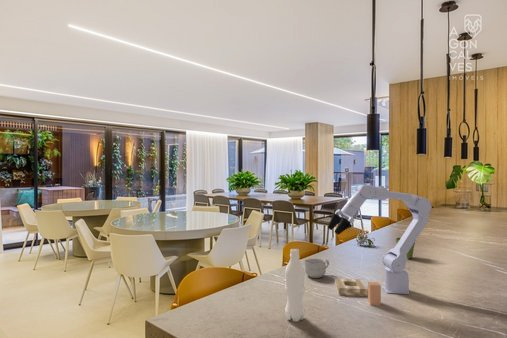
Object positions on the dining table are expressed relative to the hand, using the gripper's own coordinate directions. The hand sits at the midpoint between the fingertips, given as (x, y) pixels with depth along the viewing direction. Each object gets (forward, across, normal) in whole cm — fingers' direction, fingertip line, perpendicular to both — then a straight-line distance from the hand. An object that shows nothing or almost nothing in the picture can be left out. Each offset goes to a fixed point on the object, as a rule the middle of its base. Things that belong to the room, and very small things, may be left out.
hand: (332, 231), depth 141 cm
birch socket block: (+15, +2, +24) cm, 28 cm away
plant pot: (-18, -42, +71) cm, 84 cm away
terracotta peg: (+12, +16, +25) cm, 33 cm away
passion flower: (-10, -74, +65) cm, 99 cm away
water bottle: (+34, +24, -2) cm, 42 cm away
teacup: (+22, -19, +19) cm, 35 cm away
